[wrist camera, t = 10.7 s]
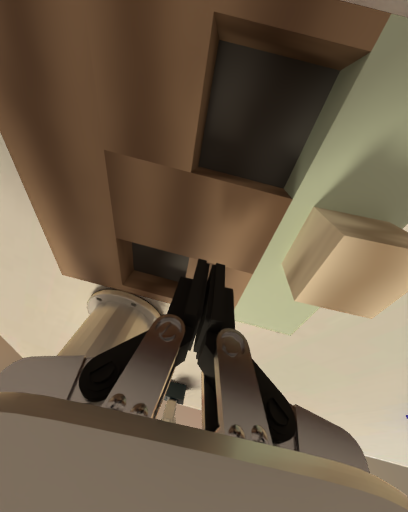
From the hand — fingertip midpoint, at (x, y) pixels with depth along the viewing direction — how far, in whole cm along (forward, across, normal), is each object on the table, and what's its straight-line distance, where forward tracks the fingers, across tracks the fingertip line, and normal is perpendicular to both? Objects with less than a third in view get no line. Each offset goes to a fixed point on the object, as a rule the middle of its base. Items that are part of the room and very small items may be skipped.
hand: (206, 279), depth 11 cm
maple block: (+4, -8, -3) cm, 10 cm away
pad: (+7, -8, -2) cm, 11 cm away
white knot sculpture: (+10, -1, +49) cm, 50 cm away
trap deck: (+8, +6, -2) cm, 10 cm away
